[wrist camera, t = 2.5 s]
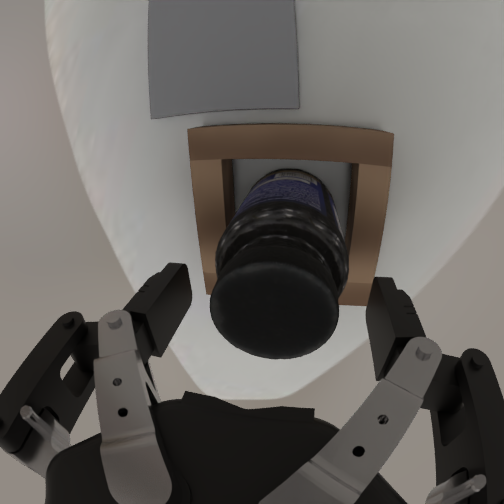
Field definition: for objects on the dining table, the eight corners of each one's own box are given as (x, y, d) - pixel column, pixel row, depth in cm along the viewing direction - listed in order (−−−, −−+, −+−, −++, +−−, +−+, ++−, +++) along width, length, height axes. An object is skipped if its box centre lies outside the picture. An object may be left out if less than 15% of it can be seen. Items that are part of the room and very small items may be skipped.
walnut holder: (201, 126, 17) (187, 129, 15) (382, 130, 15) (393, 133, 13) (215, 276, 23) (206, 294, 21) (362, 286, 21) (366, 305, 19)
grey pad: (154, 2, 13) (148, -1, 12) (292, -20, 11) (291, -25, 10) (156, 118, 17) (151, 119, 17) (299, 108, 16) (298, 108, 15)
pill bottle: (230, 212, 20) (162, 311, 10) (285, 148, 17) (257, 197, 7) (294, 263, 21) (278, 387, 11) (352, 209, 18) (392, 317, 9)
